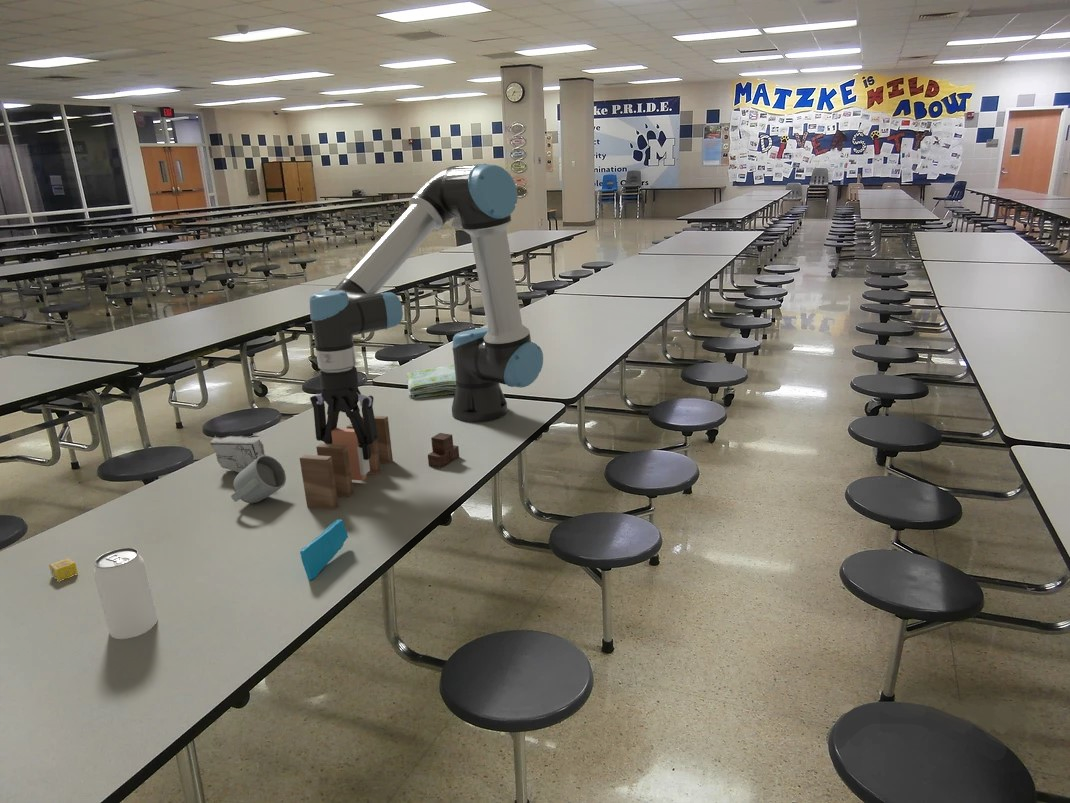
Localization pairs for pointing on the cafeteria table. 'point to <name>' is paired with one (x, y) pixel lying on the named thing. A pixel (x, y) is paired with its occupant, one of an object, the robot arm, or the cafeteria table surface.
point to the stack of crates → (442, 450)
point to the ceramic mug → (259, 480)
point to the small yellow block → (63, 569)
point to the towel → (432, 382)
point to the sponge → (323, 548)
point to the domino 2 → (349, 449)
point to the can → (125, 593)
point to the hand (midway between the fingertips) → (351, 471)
